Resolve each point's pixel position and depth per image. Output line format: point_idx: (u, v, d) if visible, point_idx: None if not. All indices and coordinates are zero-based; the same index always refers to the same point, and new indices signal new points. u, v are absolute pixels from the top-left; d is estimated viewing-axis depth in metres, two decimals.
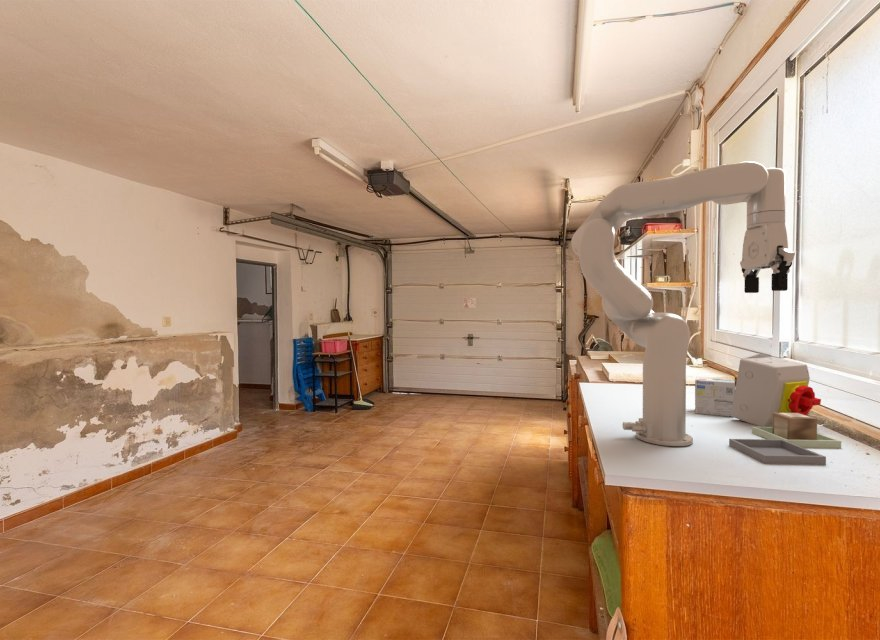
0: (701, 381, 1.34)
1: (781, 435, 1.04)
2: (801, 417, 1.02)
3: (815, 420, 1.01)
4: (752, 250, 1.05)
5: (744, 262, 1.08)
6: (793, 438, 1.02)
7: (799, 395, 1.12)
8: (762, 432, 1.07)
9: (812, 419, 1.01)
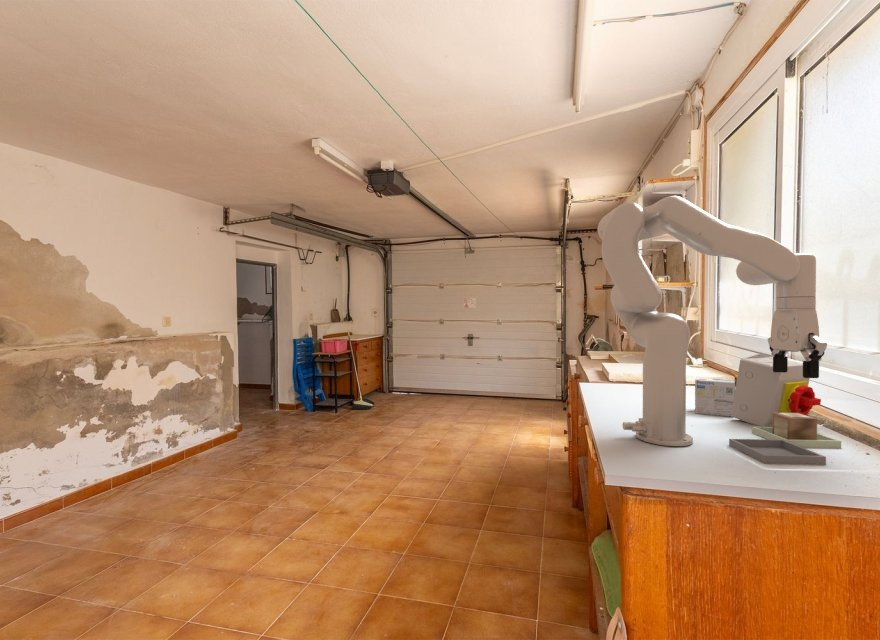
0: (701, 381, 1.34)
1: (781, 435, 1.04)
2: (801, 417, 1.02)
3: (815, 420, 1.01)
4: (782, 333, 1.05)
5: (773, 343, 1.08)
6: (793, 438, 1.02)
7: (799, 395, 1.12)
8: (762, 432, 1.07)
9: (812, 419, 1.01)
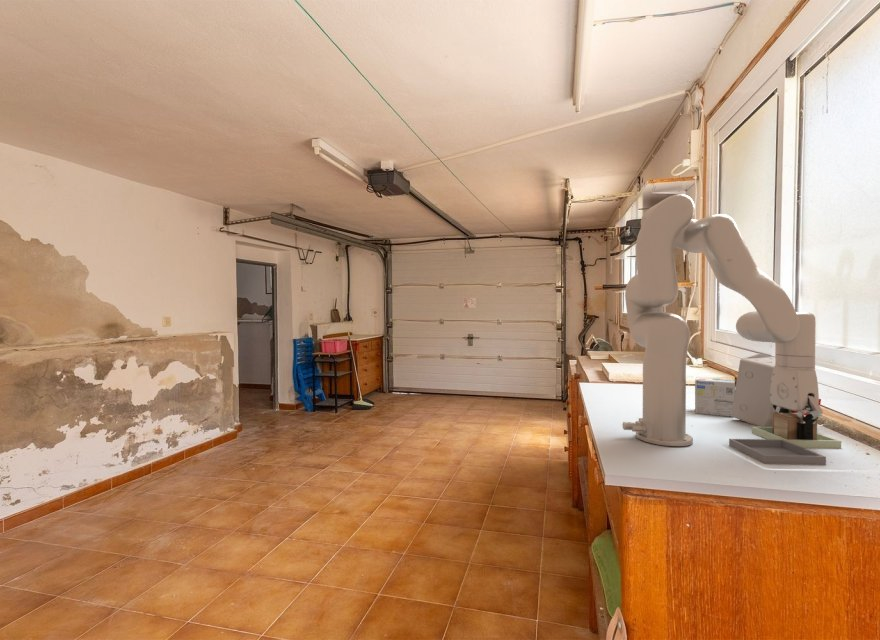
0: (701, 381, 1.34)
1: (781, 435, 1.04)
2: None
3: None
4: (781, 390, 1.05)
5: (772, 398, 1.08)
6: (793, 438, 1.02)
7: None
8: (762, 432, 1.07)
9: None
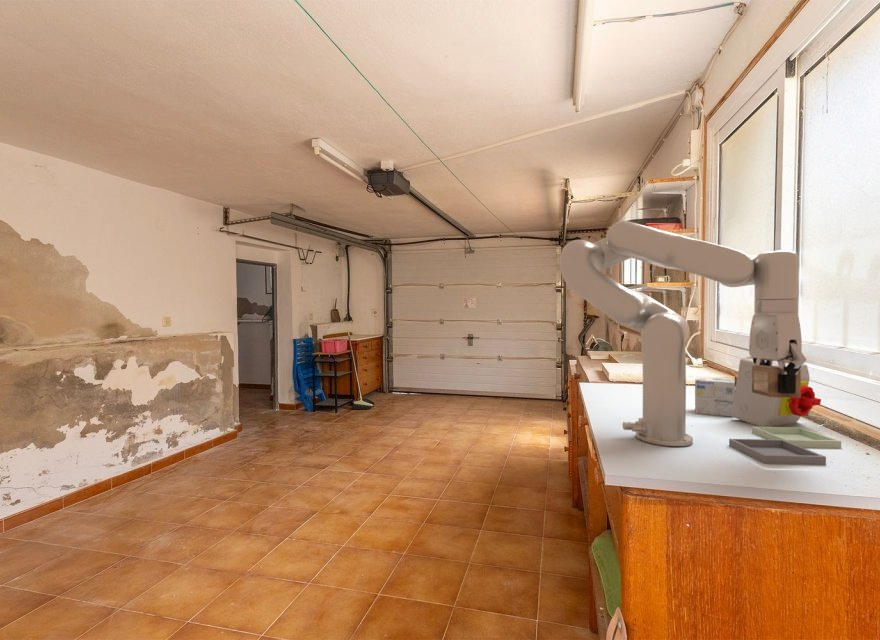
0: (701, 381, 1.34)
1: (761, 389, 0.94)
2: None
3: (798, 371, 0.90)
4: (761, 340, 0.94)
5: (752, 350, 0.97)
6: (774, 391, 0.91)
7: None
8: (762, 432, 1.07)
9: None
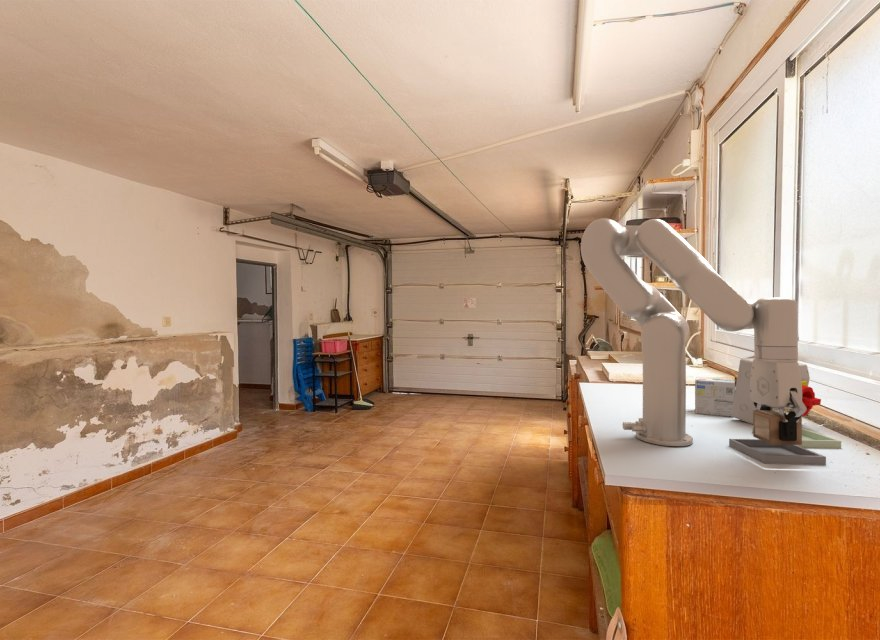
0: (701, 381, 1.34)
1: (762, 435, 0.94)
2: None
3: (799, 418, 0.90)
4: (761, 385, 0.94)
5: (752, 394, 0.97)
6: (775, 438, 0.91)
7: None
8: None
9: None
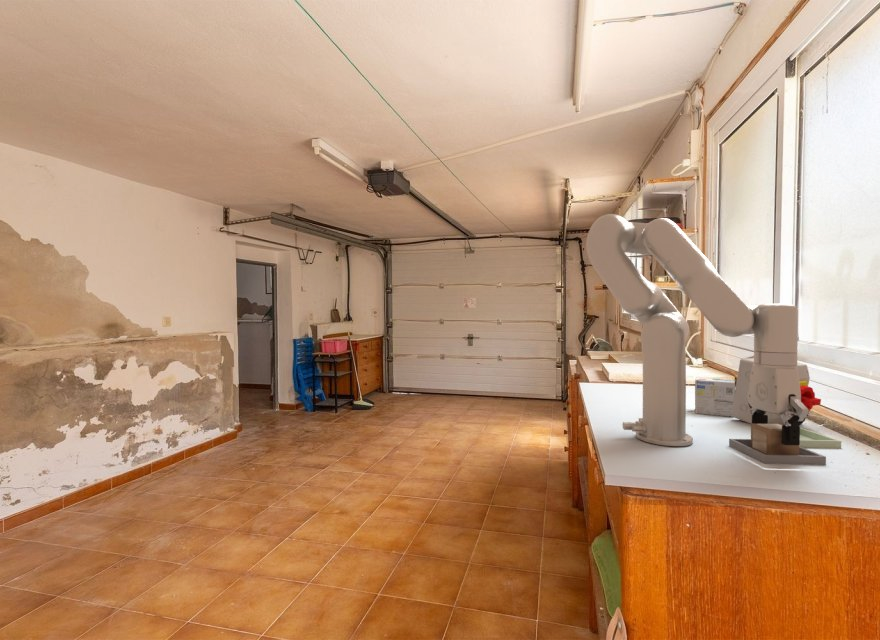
0: (701, 381, 1.34)
1: (760, 449, 0.94)
2: (781, 429, 0.92)
3: None
4: (760, 391, 0.94)
5: (751, 400, 0.97)
6: (772, 453, 0.91)
7: None
8: None
9: None
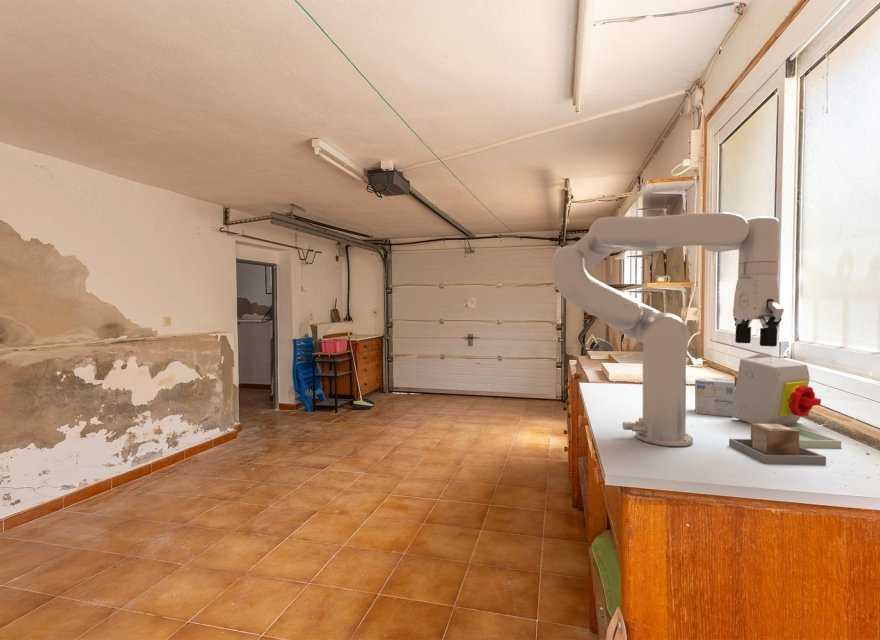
0: (701, 381, 1.34)
1: (760, 449, 0.94)
2: (781, 429, 0.92)
3: (797, 433, 0.91)
4: (742, 301, 1.01)
5: (735, 311, 1.04)
6: (772, 453, 0.91)
7: (799, 395, 1.12)
8: None
9: (794, 431, 0.91)
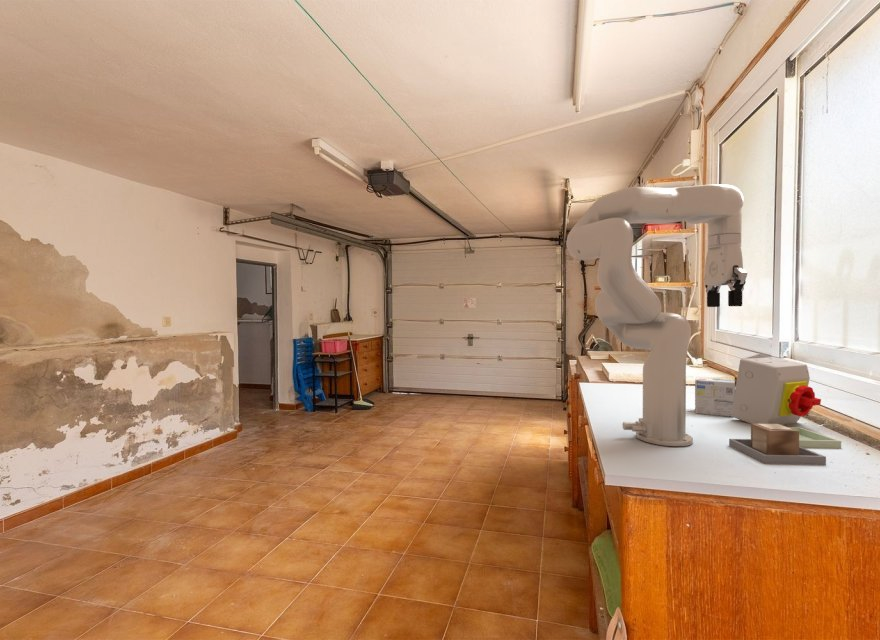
0: (701, 381, 1.34)
1: (760, 449, 0.94)
2: (781, 429, 0.92)
3: (797, 433, 0.91)
4: (712, 269, 1.15)
5: (706, 279, 1.18)
6: (772, 453, 0.91)
7: (799, 395, 1.12)
8: None
9: (794, 431, 0.91)
